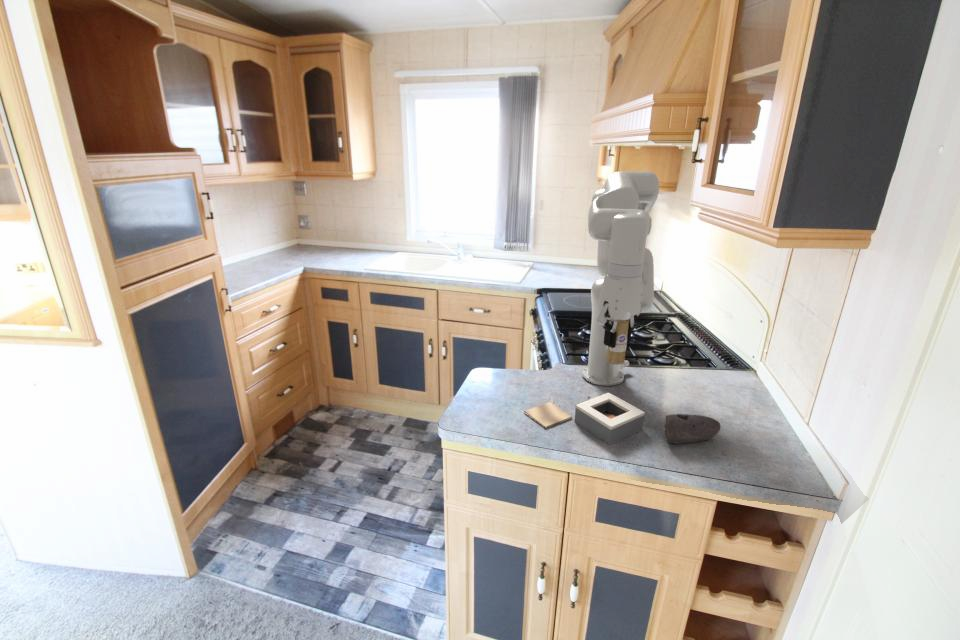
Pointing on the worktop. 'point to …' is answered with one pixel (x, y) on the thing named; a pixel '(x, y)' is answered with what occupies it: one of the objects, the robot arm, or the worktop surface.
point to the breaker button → (609, 416)
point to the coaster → (548, 414)
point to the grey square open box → (605, 427)
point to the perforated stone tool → (690, 428)
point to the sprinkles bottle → (619, 342)
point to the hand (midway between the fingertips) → (616, 342)
